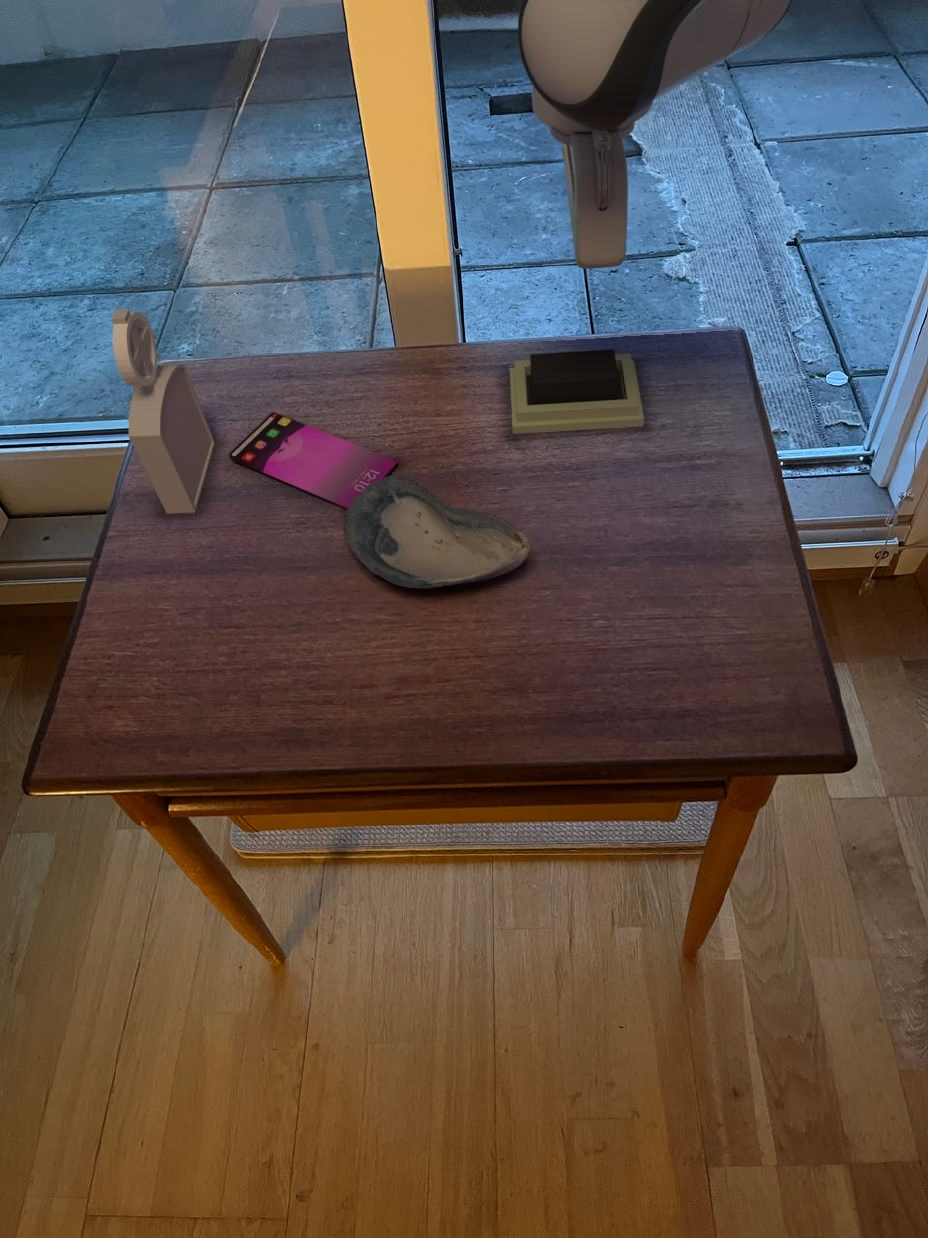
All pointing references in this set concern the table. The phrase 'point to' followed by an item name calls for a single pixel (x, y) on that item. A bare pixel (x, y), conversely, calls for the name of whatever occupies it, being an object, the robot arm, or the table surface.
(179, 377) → the gravestone
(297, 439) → the smartphone
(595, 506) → the table surface
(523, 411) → the pad
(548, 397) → the black pad
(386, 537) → the seashell
